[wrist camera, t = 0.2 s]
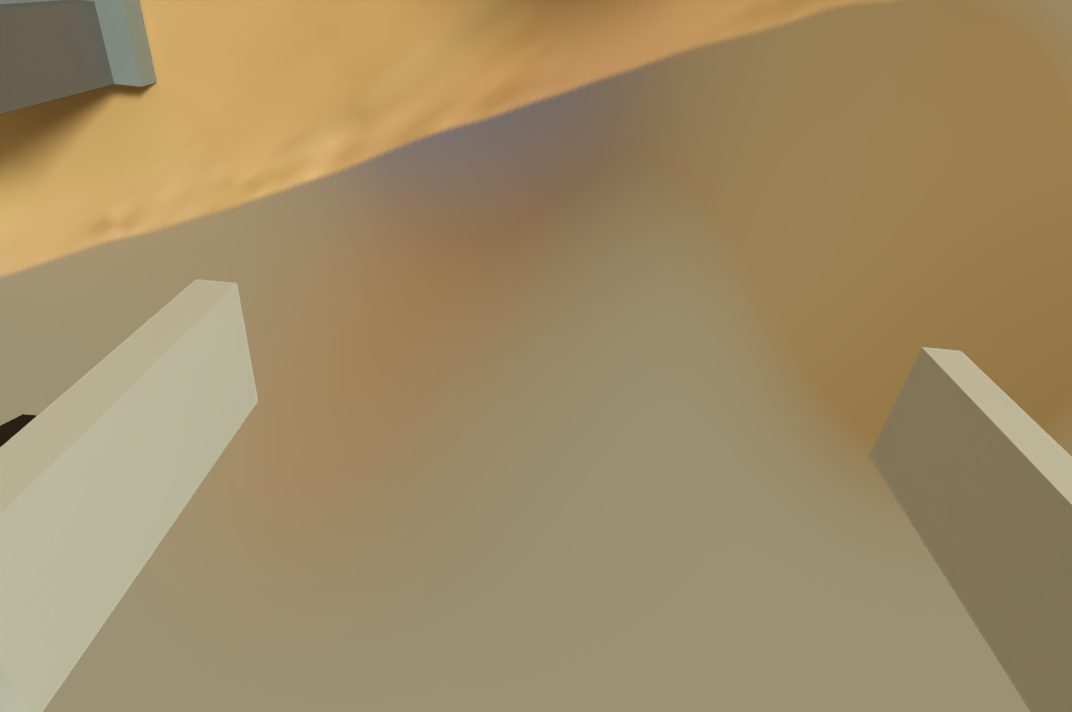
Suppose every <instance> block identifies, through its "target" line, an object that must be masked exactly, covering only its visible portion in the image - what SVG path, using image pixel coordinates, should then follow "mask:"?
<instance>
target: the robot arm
mask: <svg viewBox="0 0 1072 712" xmlns="http://www.w3.org/2000/svg"><path fill="white" fill-rule="evenodd" d="M257 402H258V397H257V392H256V386H255V381H254V375H253V370H252V364H251V358H250V353H249V347H248V342H247V337H246V331H245V325H244V320H243V314H242V309H241V303H240V298H239V293H238V287H237V283H231V282H220V281H209V280H199V279H196V280H195V281H193V282H192V283H191V284H190V285H189V286H188V287H186V288H185V289H184V290H183V291H182V292H181V293H179V294H178V295H177V296H176V297H175V298H174V299H173V300H172V301H170V302H169V303H168V304H167V305H166V306H164V307H163V308H162V309H161V310H160V311H159V312H157V313H156V314H155V315H154V316H153V317H152V318H150V319H149V320H148V321H147V322H146V323H145V324H143V325H142V326H141V327H140V328H139V329H138V330H136V331H135V332H134V333H133V334H132V335H131V336H129V337H128V338H127V339H126V340H125V341H124V342H122V343H121V344H120V345H119V346H118V347H117V348H115V349H114V350H113V351H112V352H111V353H110V354H108V355H107V356H106V357H105V358H104V359H103V360H102V361H100V362H99V363H98V364H97V365H96V366H95V367H93V368H92V369H91V370H90V371H89V372H88V373H86V374H85V375H84V376H83V377H82V378H81V379H79V380H78V381H77V382H76V383H75V384H74V385H72V386H71V387H70V388H69V389H68V390H67V391H65V393H63V394H62V395H61V396H60V397H59V398H57V399H56V400H55V401H54V402H53V403H51V404H50V405H49V406H48V407H47V408H46V409H45V410H43V411H42V412H41V413H40V414H39V415H37V416H35V415H24V414H23V415H21V416H19V417H17V418H15V419H13V420H11V421H9V422H7V423H5V424H3V425H1V426H0V712H43V710H44V709H45V707H46V706H47V705H48V703H49V702H50V700H51V699H52V697H53V696H54V694H55V693H56V692H57V690H58V689H59V687H60V686H61V684H62V683H63V681H64V680H65V679H66V677H67V676H68V674H69V673H70V671H71V670H72V669H73V667H74V666H75V664H76V663H77V661H78V660H79V658H80V657H81V656H82V654H83V653H84V651H85V650H86V648H87V647H88V646H89V644H90V643H91V641H92V640H93V638H94V637H95V635H96V634H97V633H98V631H99V630H100V628H101V627H102V625H103V624H104V622H105V621H106V620H107V618H108V617H109V615H110V614H111V612H112V611H113V610H114V608H115V607H116V605H117V603H118V602H119V601H120V599H121V598H122V596H123V595H124V594H125V592H126V591H127V589H128V588H129V586H130V585H131V583H132V582H133V581H134V579H135V578H136V576H137V575H138V574H139V572H140V570H141V569H142V568H143V566H144V565H145V563H146V562H147V561H148V559H149V558H150V556H151V555H152V553H153V552H154V550H155V549H156V547H157V546H158V545H159V543H160V542H161V540H162V539H163V537H164V536H165V534H166V533H167V532H168V530H169V529H170V527H171V526H172V525H173V523H174V522H175V520H176V519H177V517H178V516H179V514H180V513H181V512H182V510H183V509H184V507H185V506H186V504H187V503H188V501H189V500H190V498H191V497H192V496H193V494H194V493H195V491H196V490H197V489H198V487H199V485H200V484H201V483H202V481H203V480H204V478H205V477H206V475H207V474H208V473H209V471H210V470H211V468H212V467H213V465H214V464H215V463H216V461H217V460H218V458H219V457H220V455H221V454H222V452H223V451H224V450H225V448H226V447H227V445H228V444H229V442H230V441H231V439H232V438H233V437H234V435H235V434H236V432H237V431H238V429H239V428H240V427H241V425H242V424H243V422H244V421H245V419H246V418H247V416H248V415H249V413H250V412H251V411H252V409H253V408H254V406H255V405H256V404H257ZM869 457H870V458H871V460H872V461H873V463H874V465H875V466H876V468H877V469H878V471H879V472H880V474H881V476H882V477H883V479H884V481H885V482H886V484H887V485H888V487H889V489H890V490H891V492H892V493H893V495H894V496H895V498H896V500H897V501H898V503H899V504H900V506H901V507H902V509H903V511H904V512H905V514H906V515H907V517H908V518H909V520H910V522H911V523H912V525H913V526H914V528H915V530H916V531H917V533H918V534H919V536H920V538H921V539H922V541H923V542H924V544H925V545H926V547H927V548H928V550H929V552H930V553H931V555H932V557H933V558H934V559H935V561H936V563H937V564H938V566H939V567H940V569H941V571H942V572H943V574H944V576H945V577H946V578H947V580H948V582H949V583H950V585H951V586H952V588H953V590H954V591H955V593H956V595H957V596H958V598H959V599H960V601H961V602H962V604H963V605H964V607H965V609H966V610H967V612H968V613H969V615H970V617H971V618H972V620H973V621H974V623H975V625H976V626H977V628H978V629H979V631H980V632H981V634H982V636H983V637H984V639H985V640H986V642H987V644H988V645H989V647H990V648H991V650H992V651H993V653H994V655H995V656H996V658H997V659H998V661H999V663H1000V664H1001V666H1002V667H1003V669H1004V670H1005V672H1006V674H1007V675H1008V677H1009V678H1010V680H1011V682H1012V683H1013V685H1014V686H1015V688H1016V689H1017V691H1018V693H1019V694H1020V696H1021V697H1022V699H1023V701H1024V702H1025V704H1026V705H1027V707H1028V708H1029V710H1030V711H1031V712H1072V457H1071V456H1070V455H1069V454H1068V453H1067V452H1066V451H1065V450H1064V449H1063V448H1061V446H1060V445H1059V444H1058V443H1057V442H1055V441H1054V440H1053V439H1052V438H1051V437H1050V436H1049V435H1048V434H1047V433H1046V432H1045V431H1044V430H1043V429H1042V428H1041V427H1040V426H1039V425H1038V424H1037V423H1036V422H1035V421H1034V420H1032V419H1031V418H1030V417H1029V416H1028V415H1027V414H1026V413H1025V412H1024V411H1023V410H1022V409H1021V408H1020V407H1019V406H1018V405H1017V404H1016V403H1015V402H1014V401H1013V400H1011V398H1009V397H1008V396H1007V395H1006V394H1005V393H1004V392H1003V391H1002V390H1001V389H1000V388H999V387H998V386H997V385H996V384H995V383H994V382H993V381H992V380H991V379H990V378H989V377H988V376H987V375H985V374H984V373H983V372H982V371H981V370H980V369H979V368H978V367H977V366H976V365H975V364H974V363H973V362H972V361H971V360H970V359H969V358H968V357H967V356H966V355H964V353H962V352H961V351H957V350H946V349H936V348H925V347H922V348H921V350H920V352H919V354H918V356H917V358H916V360H915V362H914V364H913V366H912V368H911V370H910V373H909V375H908V377H907V379H906V381H905V383H904V385H903V387H902V389H901V391H900V393H899V395H898V397H897V399H896V401H895V404H894V406H893V408H892V410H891V412H890V414H889V416H888V418H887V420H886V422H885V424H884V426H883V428H882V430H881V432H880V434H879V437H878V439H877V441H876V443H875V445H874V447H873V449H872V451H871V453H870V455H869Z"/></svg>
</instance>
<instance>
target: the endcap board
mask: <svg viewBox="0 0 1072 712" xmlns="http://www.w3.org/2000/svg"><path fill="white" fill-rule="evenodd" d="M153 83H156V78H155V74H154V69H153V64H152V59H151V55H150V50H149V45H148V40H147V36H146V31H145V26H144V21H143V17H142V12H141V7H140V2H139V0H0V114H2V113H6V112H10V111H13V110H17V109H21V108H25V107H29V106H32V105H36V104H40V103H44V102H48V101H51V100H55V99H59V98H63V97H67V96H71V95H74V94H78V93H82V92H86V91H90V90H93V89H97V88H101V87H105V86H109V85H112V84H119V85H129V86H138V87H143V86H146V85H150V84H153Z"/></svg>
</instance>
